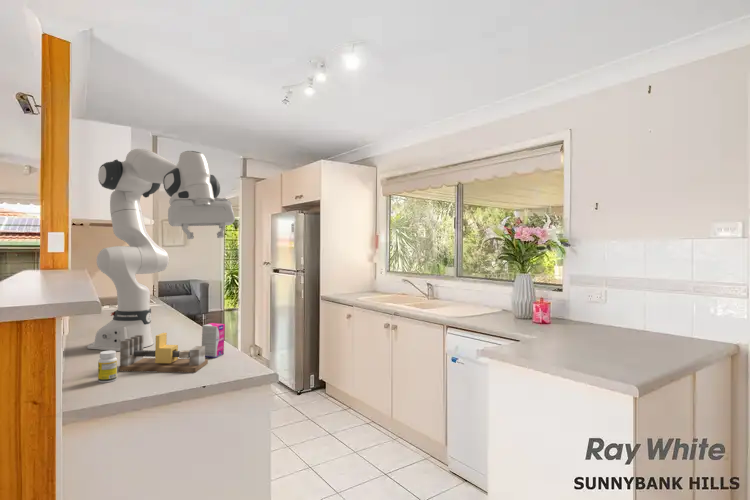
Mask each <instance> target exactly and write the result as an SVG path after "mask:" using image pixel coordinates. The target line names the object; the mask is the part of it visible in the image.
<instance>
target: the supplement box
mask: <svg viewBox="0 0 750 500" xmlns="http://www.w3.org/2000/svg"><path fill="white" fill-rule="evenodd" d="M225 328H226V324H225V323H219V322H218V323H216V322H210V323H207V324H204V325H202V328H201V329H202V332H201V346H205V359H208V358H209V359H216V358H219V357H220V356H221V357H222V356H223V355H224V354H225V352H224V351H225V333H226V331H225Z"/></svg>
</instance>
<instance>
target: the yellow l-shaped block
mask: <svg viewBox="0 0 750 500" xmlns="http://www.w3.org/2000/svg"><path fill="white" fill-rule="evenodd" d="M167 335H168V334H167V332H161V333H159V334H157V335H155V347H154V348H155V349H154V351H155V357H154V358H155V363H172V362H174V361H176V360H177V359H179V357H172V351H179V344H167V341H168V339H167V338H168V337H167Z"/></svg>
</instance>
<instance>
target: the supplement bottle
mask: <svg viewBox="0 0 750 500" xmlns="http://www.w3.org/2000/svg"><path fill="white" fill-rule="evenodd" d="M116 353H117V351H113V350H102V351H100V353H99V359H98V365H97V367H98V368H97V382H98V383H101V384H105V383H106V384H107V383H113V382H115V381H117V380H118V358H117V357H116V356H117V354H116Z"/></svg>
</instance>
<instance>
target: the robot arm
mask: <svg viewBox="0 0 750 500" xmlns="http://www.w3.org/2000/svg"><path fill="white" fill-rule="evenodd" d="M98 169H99V170H98V174H97V176H98V177H97V178H98V182H99V184H100V185H101V187H102V188H104V189H106V190H107V189H108V190H111V191H112V192H111V194H110V197H109V198H110V199H109V208H110V209H109V211H110V212H109V213H110V218H111V223H112V225H111V226H112V231H113V234H114V236H115V237H116V238H117V239H119V240H122V241H124V242H125V243H126V244H128V246H127V245H123V246H122V245H115V246H109V247H105V248H102V249H101V250H100V251H99V252H98V254H97V256H96V265H97V268H98V269H99V271H100V272H101V273H102V274H104V275H106V276H107V277H108V278H109V279H110V280H111V281H112V283H113V284H114V286H115V289H116V295H117V296H116V297H117V298H116V299H117V309H116V310H115V311H113V312H110V315H109V316H111V317H112V316H113V317H112V320H111V321H109V322H107V323H106V324H105V325H103V326H102V327H101V328H99V329H98V330H97V332H95V338H94V341H93V342H91V343H89V344H88V345H87V348H86V349H89V350H99V351H100V350H101V351H110V350H112V351H116V352H120V341H122V340H125V339H131V337H135V335H143V348H146V347H150V346H153V345H154V344H155V342H154V339H153V335H152V328H151V323H152V322H151V321H152V308H151V290H150V289H149V287H148V286H147V285H145V284H143V283H141V282H138V280H137V276H136V275H145V274H155V273H160V272H163V271H165V270H166V269H167V267H168V265H169V263H170V262H169V261H170V257H169V254H168V252H167V250H165V248H163V247H161V246H160V245H158V244H157V242H155V241H154V240H153V239H152V238H151V236H150V234H149V233H148V231H147V228H146V224H145V220H144V216H143V210H142V206H141V198H142V196H143V197H144V198H149V197H150V196H151V195H152V194H154V193H156V192H157V191H158V190H159V189H160V188H161V184H162V185H163V188H164V191H165V193H166V194H167V195H168V196H169V197H170V198H169V207H168V210H167V221H168V224H169V225H170V226H171V227H181V230H182V231H183V233H185V235H186V238H187V240H193V239H194V238H195V237H194V232H192V231H190V229H189V227H202V226H203V227H204V226H205V227H206V226H209V227H210V226H215V227H217V226H218V228H219V229H220V230H219V231H217V232H216V236H217V239H223V238H224V230H225V229H226V226H231V225H233V223H235V221H236V217H235V213H234V210H233V203H232V201H231V200H229V199H228V198H225V197H224V198H223V197H222V198H221V197H219V195H220V192H221V185H220V183H219V181H218V179H217V177H216V176H215V175H213V174H211V171H210V167H209V164H208V159H207V158H206V156H205V155H204V153H202V152H199V151H195V150H186V151H182V152H181V153H180V154H179V157H178V162H177V163H175V162H173V161H171V160H169V159H168V158H165V157H164V156H162V155H160V154H158V153H157V152H154V151H152V150H148V149H146V148H145V149H144V148H135V149H134V148H133V149H131V150H130V151H129V152H128V153H127V155H126V156H125V160H124V161H119V160H118V159H114V160H112V161H107V162H104V163H103V164H101V165H100V167H99V168H98Z"/></svg>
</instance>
